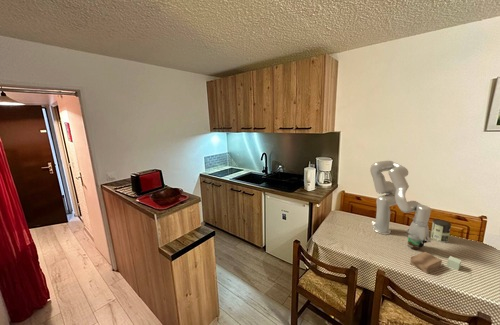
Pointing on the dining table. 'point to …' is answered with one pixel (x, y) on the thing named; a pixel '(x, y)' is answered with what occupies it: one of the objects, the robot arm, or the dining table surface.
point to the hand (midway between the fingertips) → (416, 244)
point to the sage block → (454, 263)
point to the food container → (413, 241)
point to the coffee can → (440, 230)
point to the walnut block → (426, 262)
